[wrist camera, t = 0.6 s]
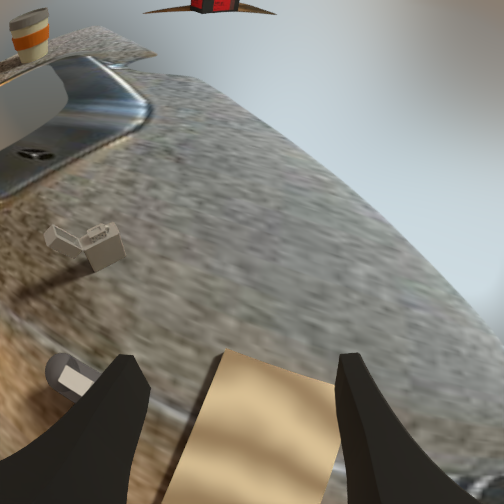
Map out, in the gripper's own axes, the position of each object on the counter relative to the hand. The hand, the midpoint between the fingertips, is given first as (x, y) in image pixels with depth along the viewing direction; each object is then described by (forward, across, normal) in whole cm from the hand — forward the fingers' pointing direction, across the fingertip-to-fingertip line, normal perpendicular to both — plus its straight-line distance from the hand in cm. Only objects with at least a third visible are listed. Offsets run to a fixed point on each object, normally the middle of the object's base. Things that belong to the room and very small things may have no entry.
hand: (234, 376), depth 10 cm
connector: (+7, +15, +14) cm, 21 cm away
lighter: (+19, +18, +7) cm, 27 cm away
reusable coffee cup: (+73, +65, -32) cm, 103 cm away
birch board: (+4, +1, +19) cm, 20 cm away
